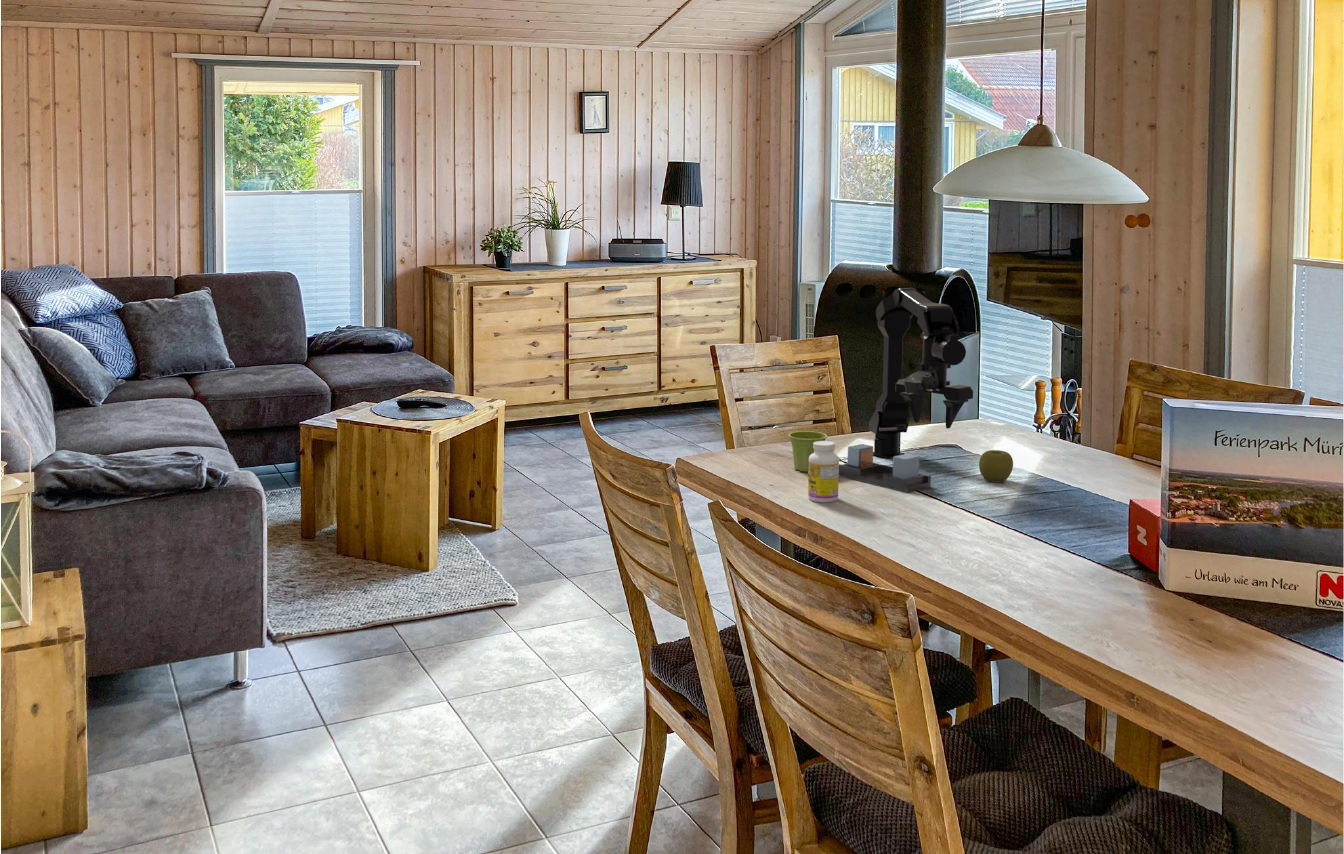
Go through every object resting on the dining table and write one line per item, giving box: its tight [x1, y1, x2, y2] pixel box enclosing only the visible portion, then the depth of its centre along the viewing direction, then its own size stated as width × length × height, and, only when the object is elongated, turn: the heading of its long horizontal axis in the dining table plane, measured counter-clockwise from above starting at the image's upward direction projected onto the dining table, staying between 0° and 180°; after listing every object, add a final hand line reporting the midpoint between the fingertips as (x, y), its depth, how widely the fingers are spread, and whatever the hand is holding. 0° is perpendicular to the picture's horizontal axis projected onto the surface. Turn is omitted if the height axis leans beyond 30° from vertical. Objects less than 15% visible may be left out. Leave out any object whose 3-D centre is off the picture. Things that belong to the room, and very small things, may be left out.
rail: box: [839, 443, 932, 493], centre depth 281 cm, size 8×22×7 cm, turn 38°
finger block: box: [892, 453, 920, 480], centre depth 276 cm, size 5×4×6 cm
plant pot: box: [788, 430, 828, 473], centre depth 294 cm, size 9×9×9 cm
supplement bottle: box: [807, 440, 840, 504], centre depth 265 cm, size 7×7×13 cm
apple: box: [978, 449, 1014, 483], centre depth 281 cm, size 8×8×7 cm
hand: (932, 425), depth 281 cm, fingers open, 9 cm apart
